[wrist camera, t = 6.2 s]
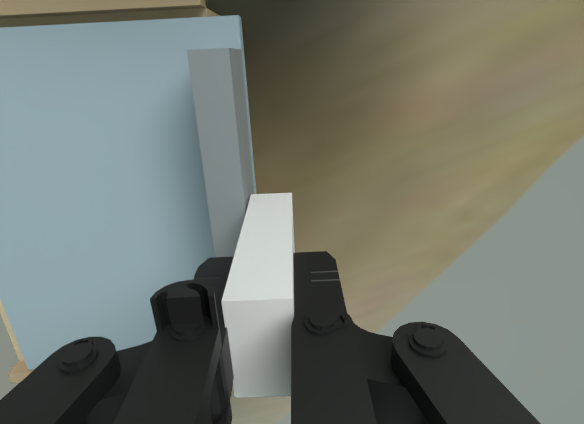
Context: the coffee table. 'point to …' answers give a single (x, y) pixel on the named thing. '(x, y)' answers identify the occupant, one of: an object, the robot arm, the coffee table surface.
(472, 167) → the coffee table surface
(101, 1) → the wooden box
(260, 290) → the robot arm
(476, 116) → the coffee table surface
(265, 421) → the coffee table surface
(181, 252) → the lid
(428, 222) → the coffee table surface
